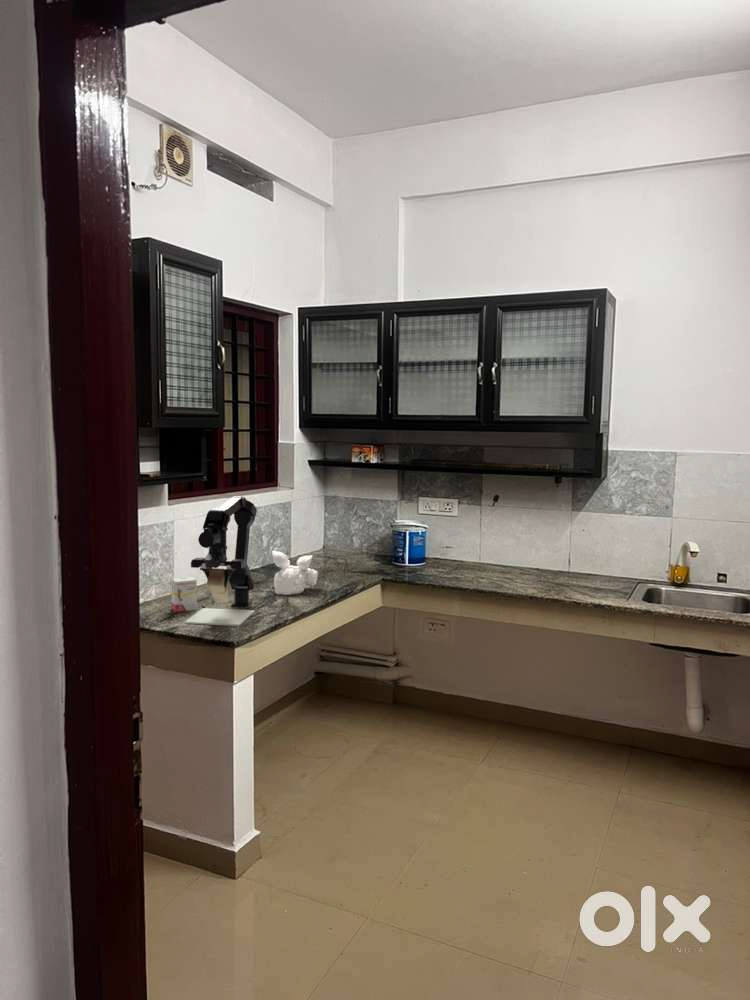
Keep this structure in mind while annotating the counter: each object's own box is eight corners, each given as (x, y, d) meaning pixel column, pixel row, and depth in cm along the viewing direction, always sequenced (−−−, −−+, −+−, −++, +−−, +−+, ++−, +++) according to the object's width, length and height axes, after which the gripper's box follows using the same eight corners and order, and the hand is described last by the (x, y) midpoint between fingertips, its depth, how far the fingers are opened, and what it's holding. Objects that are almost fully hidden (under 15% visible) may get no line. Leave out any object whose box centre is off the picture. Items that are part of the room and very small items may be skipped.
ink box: (174, 612, 276) (174, 581, 274) (171, 609, 280) (170, 578, 279) (197, 609, 280) (197, 579, 279) (193, 606, 284) (193, 576, 283)
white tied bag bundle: (263, 575, 299) (274, 542, 314) (268, 609, 311) (278, 576, 327) (309, 579, 297) (318, 546, 313) (312, 613, 310) (320, 580, 325)
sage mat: (203, 609, 280) (203, 608, 280) (254, 611, 278) (254, 610, 278) (184, 623, 261) (184, 621, 261) (239, 625, 259) (239, 624, 259)
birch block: (218, 588, 274) (211, 568, 265) (231, 589, 274) (224, 568, 265) (214, 602, 270) (206, 581, 261) (228, 602, 270) (220, 582, 261)
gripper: (184, 546, 258) (185, 590, 259) (236, 548, 256) (236, 592, 257) (196, 542, 269) (196, 584, 270) (246, 543, 267) (246, 586, 268)
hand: (218, 587), depth 266 cm, fingers closed on birch block, 5 cm apart
